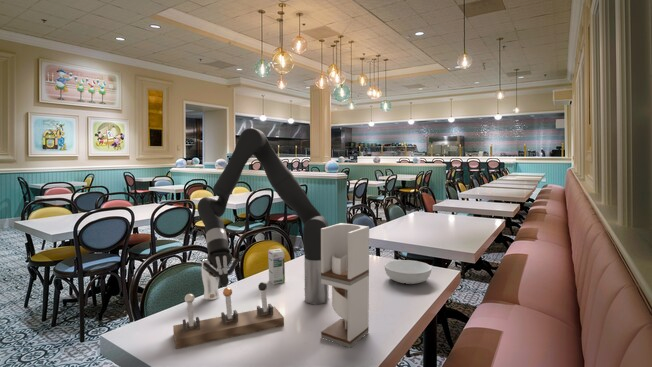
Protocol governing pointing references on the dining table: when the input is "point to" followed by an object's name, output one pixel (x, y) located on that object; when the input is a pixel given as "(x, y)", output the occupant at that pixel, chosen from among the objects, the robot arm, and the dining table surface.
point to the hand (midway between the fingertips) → (224, 285)
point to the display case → (346, 280)
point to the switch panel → (226, 326)
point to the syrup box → (276, 266)
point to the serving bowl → (408, 271)
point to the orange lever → (228, 304)
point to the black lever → (263, 297)
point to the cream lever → (190, 311)
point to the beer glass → (210, 284)
